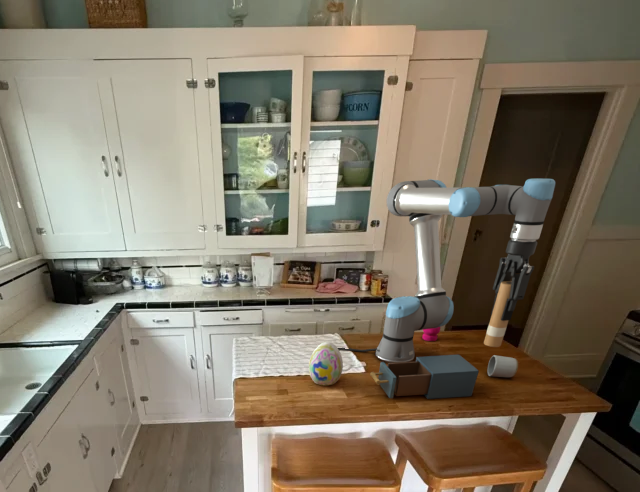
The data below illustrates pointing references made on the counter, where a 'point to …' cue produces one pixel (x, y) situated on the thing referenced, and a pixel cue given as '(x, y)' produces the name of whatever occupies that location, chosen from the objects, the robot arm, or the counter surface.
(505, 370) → the ceramic mug
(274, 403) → the counter surface
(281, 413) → the counter surface
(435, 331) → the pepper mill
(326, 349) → the decorative egg
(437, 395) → the cabinet
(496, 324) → the paper roll
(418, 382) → the drawer
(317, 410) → the counter surface
